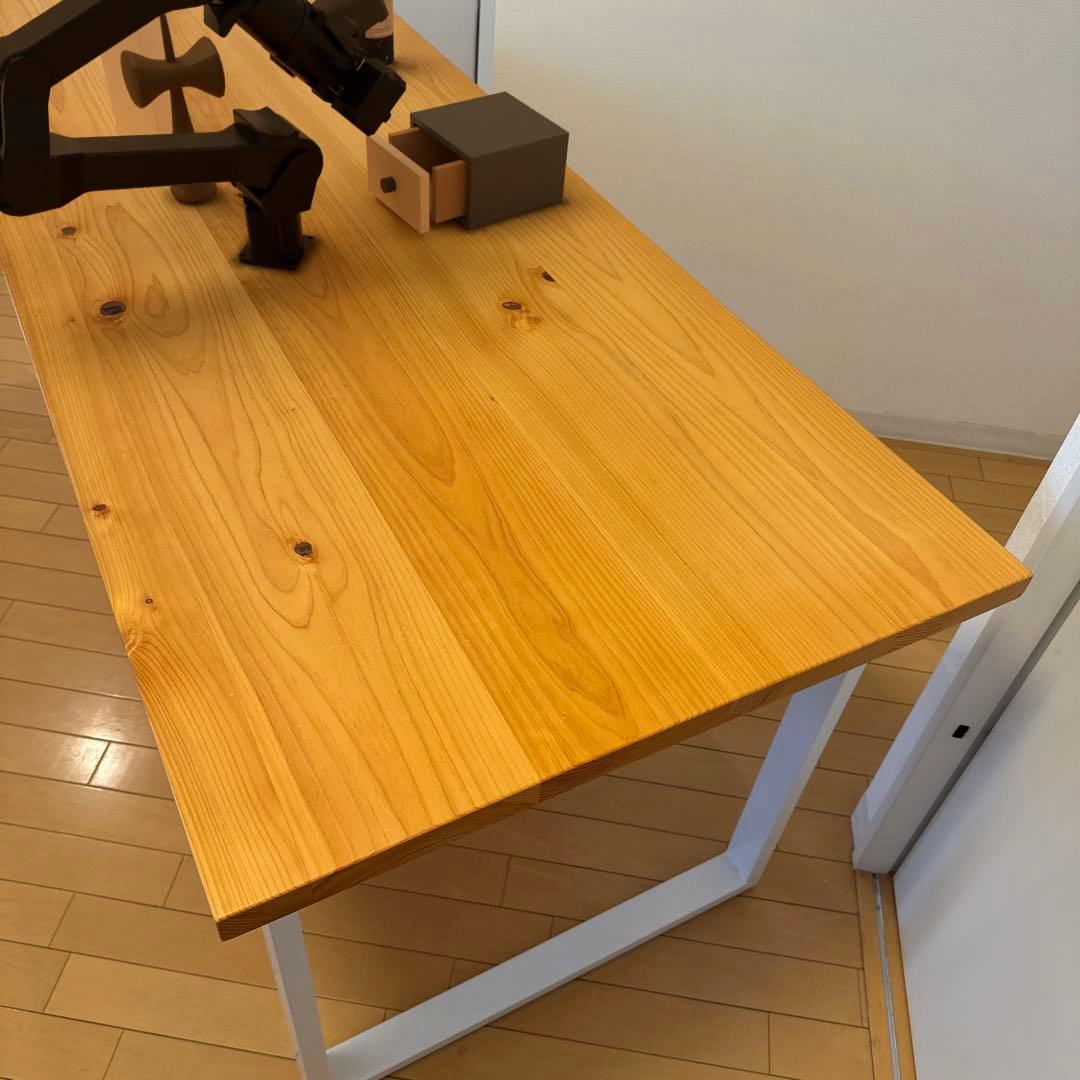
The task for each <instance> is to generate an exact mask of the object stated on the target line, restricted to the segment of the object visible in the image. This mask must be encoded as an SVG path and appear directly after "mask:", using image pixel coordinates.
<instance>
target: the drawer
mask: <svg viewBox="0 0 1080 1080" xmlns="http://www.w3.org/2000/svg"><path fill="white" fill-rule="evenodd" d="M387 136H388V138H387V139H388V140H386V139H385V138H383V137H382V136H381V135H379V134H378V133H377V132H376V133H375V134H374V135H371V136H369V137H368V136H366V135H365V147H366V165H367V166H366V168H367V170H366V171H367V189H368V192H370V193H371V195H373V196H374V197H376V199H378V200H379V201H380V202H382V204H384V205H385V206H386V207H387V208H389V209H390V210H391V211H392V212H393V213H395V214H396V216H398V217H400V218H401V219H402V220H403V221H404V222H405V223H407V224H408V225H409V226H410V227H411V228H413V229H414V230H415V231H416V232H417V233H419V234H420V235H421V234H425V233H428V232H430V220H432V221H433V222H434V223H435V224H438V223H441V222H444V221H445V222H446V221H449V220H452V219H455V218H456V217H459V216H463V215H466V198H467V164H468V162H467V161H466V160H464V159H463V158H462V157H460V156H459V155H457V154H456V153H455V152H453V151H452V150H451V149H449V148H448V147H447V146H445V145H444V144H442V143H441V142H440V141H438V140H437V139H436V138H434V137H433V136H432V135H430V134H429V133H428V132H426V131H425V130H423V129H422V128H421V127H419V126H418V127H414V128H410V127H409V128H406V129H402V130H398V131H394V132H388V135H387Z"/></svg>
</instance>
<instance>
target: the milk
mask: <svg viewBox="0 0 1080 1080" xmlns="http://www.w3.org/2000/svg"><path fill="white" fill-rule="evenodd" d="M166 18H167V22H168V26H169V30H170V35H171V40H172V45H173V49H174V54H175V58H176V57H178V55H177V48H176V43H175V38H174V32H173V26H172V21H171V14H170V12H169V13H166ZM124 50H128V51H132V52H134V53H137V54H139V55H142V56H144V57H147V58H151V59H156V60H163V59H165V53H164V46H163V39H162V32H161V25H160V17H157V18H156V19H154V20H153V21H151V22H150V23H148V24H147V25H145V26H144V27H142V28H141V29H139V30H138V31H136V32H135V33H133V34H132V35H130V36H129V37H127V38H126V39H124V40H123V41H121V42H120V43H118V44H117V45H115V46H113V47H112V48H110V49H109V50H107V51H106V52H104V53H103V54H101V55H100V56H99V57H100V60H101V66H102V70H103V73H104V77H105V83H106V87H107V92H108V96H109V101H110V106H111V110H112V114H113V118H114V122H115V127H116V131H117V136H126V135H152V134H172V112H171V99H170V90H168V91H165V92H163V93H162V94H161V95H159V96H158V97H157V98H156V99H155V100H153V101H152V102H151V103H150V104H149V105H148V106H146V107H145V108H143V109H140V108H139V107H137V106H136V105H135V104H134V102H133V101H132V99H131V97H130V95H129V93H128V90H127V88H126V85H125V82H124V78H123V74H122V69H121V63H120V55H121V53H122V51H124ZM182 90H183V91H184V89H183V88H182Z"/></svg>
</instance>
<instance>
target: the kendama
mask: <svg viewBox="0 0 1080 1080" xmlns="http://www.w3.org/2000/svg"><path fill="white" fill-rule="evenodd" d="M159 17H160V25H161V32H162V39H163V46H164V53H165V59H163V60H156V59H151V58H147V57H144V56H142V55H139V54H137V53H134V52H132V51H128V50H124V51H122V53H121V55H120V63H121V69H122V74H123V78H124V82H125V85H126V88H127V90H128V93H129V95H130V97H131V99H132V101H133V102H134V104H135V105H136V106H137V107H139V108H140V109H143V108H145V107H146V106H148V105H149V104H150V103H151V102H152V101H153V100H155V99H156V98H157V97H158V96H159V95H161V94H162V93H163V92H165V91H168V90H170V99H171V112H172V134H177V133H196V131H195V128H194V125H193V121H192V119H191V116H190V112H189V109H188V105H187V102H186V98H185V94H184V89H183V88H193V89H197V90H199V91H202V92H204V93H206V94H208V95H210V96H212V97H214V98H217V99H222V98H224V96H225V93H226V88H227V87H226V86H227V85H226V75H225V70H224V65H223V61H222V59H221V56H220V53H219V51H218V49H217V47H216V45H215V43H214V42H213V41H212V40H211V38H210V37H208V36H205V35H202V36H201V37H199V39H197V41H196V42H194V44H192V46H191V47H190V48H189V49H188V50H187V51H186V52H185V53H184V54H182V55H180V56H177V57H176V58H175V54H174V49H173V45H172V40H171V35H170V30H169V26H168V22H167V18H166V14H164V15H161V16H159ZM182 89H183V90H182ZM169 190H170V193H171V195H172V196H173V197H174V198H175V199H177V200H180V201H183V202H189V203H190V202H191V203H194V202H203V201H206V200H209V199H210V198H212V197H213V196H216V195H217V192H218V186H217V183H207V184H193V185H178V186H169Z"/></svg>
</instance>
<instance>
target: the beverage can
mask: <svg viewBox="0 0 1080 1080" xmlns="http://www.w3.org/2000/svg"><path fill="white" fill-rule="evenodd" d="M384 3H385V5H386V7H387V10H388V12H389V15H388V17H387V18H386V19H385V20H384V21H383V22H378V23H377V24H376V25H374V26H373V27H372V28H370V29H369V30H368V31H366V32H365V33H364V34H362V35H361V36H359V37H357V38H353V39H354V40H355V41H356V42H357V43H358V44H359V45H360V48H359V49H358V52H359V56H360V57H362V58H363V59H364V57H365V56H366V57H368V58H369V59H378V60H379V61H381V62H382V63H383V64H385V65H386V66H388V67H389V68H390V66H391V65H392V64H393V63H394V61H395V42H394V40H395V39H394V38H395V37H394V36H395V35H394V0H384Z"/></svg>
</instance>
